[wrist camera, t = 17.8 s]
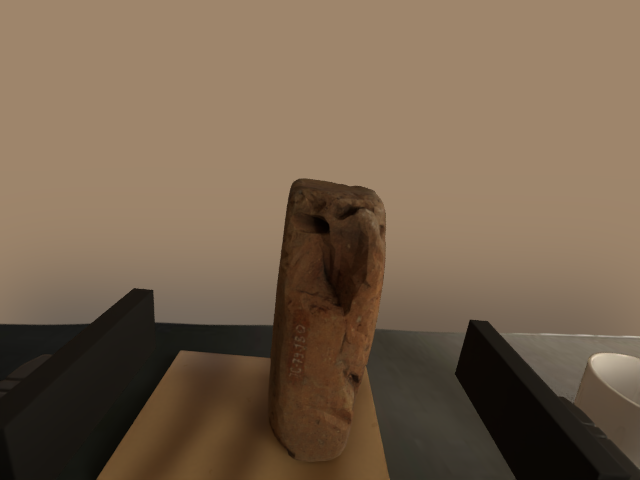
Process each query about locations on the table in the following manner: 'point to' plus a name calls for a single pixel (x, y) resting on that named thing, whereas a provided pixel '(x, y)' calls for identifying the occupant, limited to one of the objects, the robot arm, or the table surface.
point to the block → (324, 314)
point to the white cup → (613, 399)
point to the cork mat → (232, 429)
